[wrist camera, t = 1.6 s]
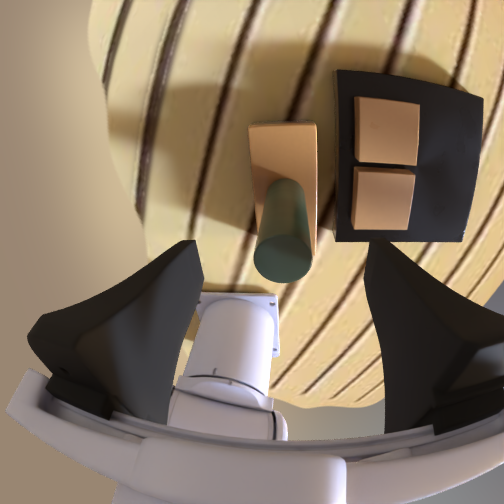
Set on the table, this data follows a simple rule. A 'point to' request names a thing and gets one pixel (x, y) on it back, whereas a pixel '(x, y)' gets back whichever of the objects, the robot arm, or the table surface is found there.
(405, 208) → the chip
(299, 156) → the brush
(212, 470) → the robot arm
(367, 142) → the chip
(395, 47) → the table surface
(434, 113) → the enamel panel
